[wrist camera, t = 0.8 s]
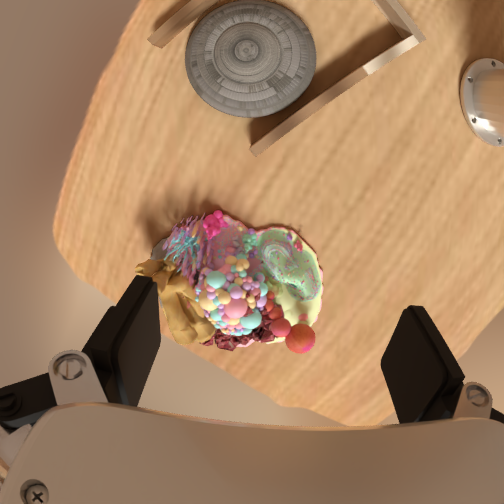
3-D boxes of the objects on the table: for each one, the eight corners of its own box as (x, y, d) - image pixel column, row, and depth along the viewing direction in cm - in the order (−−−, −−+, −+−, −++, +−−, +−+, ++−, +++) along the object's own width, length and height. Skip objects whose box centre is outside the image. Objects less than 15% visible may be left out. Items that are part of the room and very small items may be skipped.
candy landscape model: (192, 353, 54) (180, 393, 45) (128, 236, 44) (98, 267, 36) (336, 324, 48) (344, 366, 40) (296, 181, 39) (301, 204, 31)
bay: (313, -66, 23) (315, -78, 20) (414, 43, 29) (426, 38, 25) (156, 42, 31) (145, 38, 28) (257, 153, 37) (255, 157, 34)
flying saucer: (334, 92, 33) (342, 90, 28) (217, 135, 37) (208, 141, 32) (284, -13, 27) (285, -29, 23) (170, 33, 31) (154, 25, 26)
